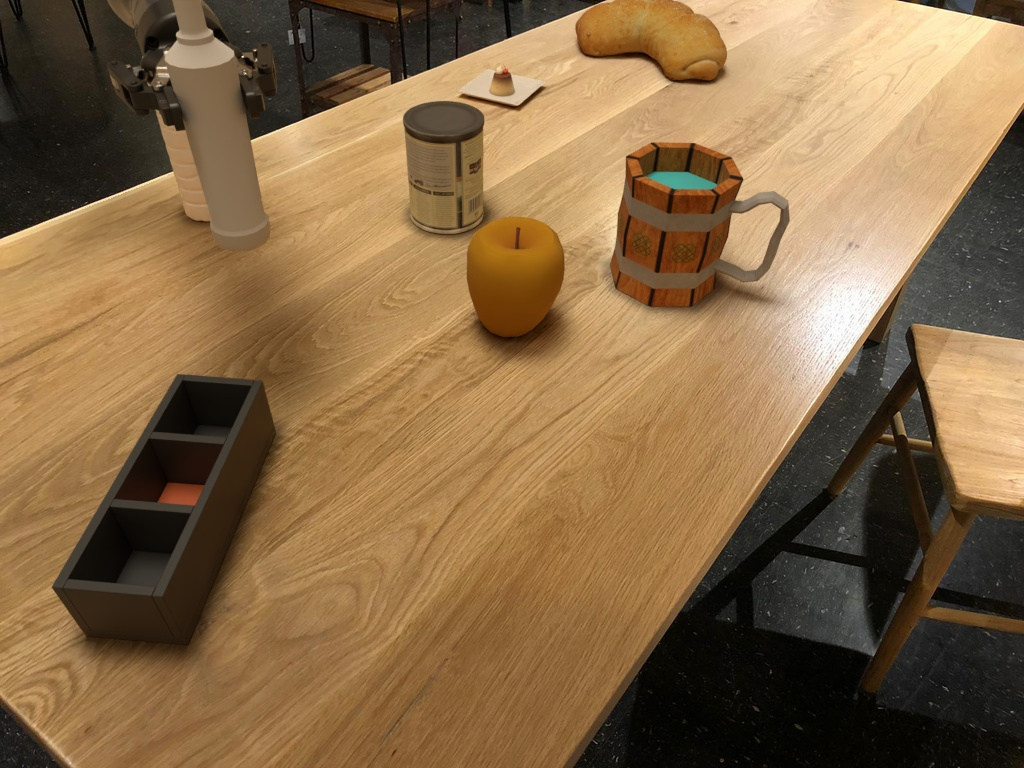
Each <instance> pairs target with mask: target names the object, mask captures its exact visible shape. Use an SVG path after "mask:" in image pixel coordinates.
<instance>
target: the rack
mask: <svg viewBox="0 0 1024 768" xmlns="http://www.w3.org/2000/svg"><path fill="white" fill-rule="evenodd" d="M276 434H277V430H276V427H275V423H274V418H273V415H272V411H271V408H270V403H269V400H268V396H267V392H266V388H265V384H264V381H263V380H262V379H261V380H260V379H250V378H236V377H222V376H210V375H198V374H184V373H183V374H182V373H177V374H176V376H175V377H174V379H173V381H172V382H171V384H170V385H169V387H168V389H167V390H166V391H165V394H164V395H163V397H162V399H161V400H160V403H159V404H158V406H157V408H156V409H155V411H154V412H153V414H152V416H151V418H150V419H149V421H148V423H147V424H146V426H145V428H144V429H143V431H142V432H141V434H140V436H139V438H138V440H137V441H136V443H135V444H134V447H133V448H132V450H131V451H130V453H129V455H128V457H127V458H126V460H125V462H124V464H123V465H122V467H121V469H120V470H119V472H118V473H117V475H116V478H114V480H113V482H112V484H111V485H110V488H109V489H108V490H107V492H106V494H105V495H104V497H103V499H102V500H101V502H100V504H99V506H98V508H97V509H96V511H95V513H94V514H93V515H92V518H90V521H89V523H88V524H87V526H86V527H85V529H84V531H83V533H82V535H81V536H80V538H79V540H78V541H77V543H76V545H75V546H74V548H73V550H72V552H71V553H70V555H69V557H68V558H67V560H66V562H65V564H64V565H63V567H62V569H61V571H60V572H59V574H58V575H57V576H56V579H55V580H54V582H53V584H52V586H51V589H52V590H53V591H54V593H55V594H56V596H57V597H58V599H59V601H60V602H61V603H62V605H64V607H65V609H66V611H67V612H68V613H69V614H70V616H71V617H72V618H73V620H74V622H75V623H76V625H77V626H78V627H79V629H80V630H81V632H82V633H83V635H84V636H86V637H91V638H92V637H93V638H104V639H116V640H127V641H137V642H138V641H139V642H149V643H159V644H160V643H161V644H172V645H180V646H181V645H182V646H188V645H189V643H190V641H191V638H192V635H193V633H194V631H195V628H196V626H197V624H198V621H199V619H200V616H201V614H202V611H203V609H204V607H205V604H206V602H207V599H208V598H209V594H210V592H211V590H212V587H213V585H214V583H215V580H216V578H217V575H218V573H219V571H220V568H221V566H222V563H223V561H224V559H225V556H226V554H227V552H228V549H229V546H230V544H231V542H232V539H233V536H234V535H235V532H236V530H237V527H238V525H239V522H240V520H241V518H242V515H243V513H244V511H245V508H246V506H247V503H248V500H249V498H250V496H251V494H252V491H253V489H254V486H255V484H256V481H257V479H258V476H259V475H260V472H261V469H262V467H263V465H264V463H265V460H266V457H267V455H268V453H269V450H270V448H271V445H272V444H273V441H274V438H275V436H276Z"/></svg>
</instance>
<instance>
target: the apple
mask: <svg viewBox="0 0 1024 768" xmlns="http://www.w3.org/2000/svg"><path fill="white" fill-rule="evenodd" d="M565 265H566V264H565V251H564V248H563V245H562V243H561V240H560V237H559V235H558V233H557V232H556V231H555V230H554V229H552V228H551V226H550V225H548V224H547V223H545V222H543V221H541V220H538V219H536V218H532V217H526V216H506V217H502V218H499V219H496V220H492V221H490V222H488V223H487V224H485V225H484V226H482V227H481V228H479V229H477V230H476V231H475V232H474V234H473V236H472V237H471V239H470V242H469V244H468V246H467V251H466V283H467V288H468V293H469V297H470V299H471V303H472V305H473V308H474V310H475V312H476V315H477V317H478V319H479V321H480V323H481V324H482V325H483V326H484V327H485V328H486V330H488V332H489V333H491V334H493V335H497V336H499V337H502V338H510V337H511V338H513V337H521V336H524V335H526V334H528V333H529V332H531V331H532V330H534V328H536V327H537V326H538V325H539V324H540V323H541V322H542V321H543V320H544V318H545V317H546V315H547V314H548V312H549V310H550V309H551V308H552V306H553V305H554V303H555V301H556V300H557V297H558V296H559V294H560V291H561V289H562V286H563V282H564V279H565V272H566V271H565V270H566V268H565Z"/></svg>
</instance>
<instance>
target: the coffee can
mask: <svg viewBox="0 0 1024 768" xmlns="http://www.w3.org/2000/svg"><path fill="white" fill-rule="evenodd" d="M402 124H403V128H404V141H405V153H406V167H407V181H408V182H407V183H408V193H409V194H408V195H409V206H410V207H409V208H410V213H409V217H410V220H411V221H412V223H413V224H414V225H415V226H416V227H418V229H421V230H423V231H425V232H429V233H433V234H439V235H455V234H456V235H457V234H460V233H461V234H462V233H465V232H468V231H471V230H472V229H474V228H476V227H477V226H479V225H480V224H481V222H482V221H483V219H484V215H485V213H484V156H485V155H484V126H485V115H484V113H483V112H482V111H481V110H480V109H479V108H477V107H475V106H473V105H471V104H468V103H465V102H459V101H453V100H435V101H428V102H423V103H420V104H416V105H413V106H412V107H410V108H409V109H408V110H406V111H405V112H404V114H403V116H402Z"/></svg>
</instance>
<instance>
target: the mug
mask: <svg viewBox="0 0 1024 768" xmlns="http://www.w3.org/2000/svg"><path fill="white" fill-rule="evenodd" d="M743 182H744V177H743V175H742V173H741V172H740V169H739V168H738V166H737V164H736V162H735V160H734V159H733V157H731V156H729V155H726V154H724V153H721V152H719V151H716V150H714V149H711V148H709V147H706V146H703V145H701V144H698V143H695V142H658V141H657V142H655V141H654V142H653V141H651V142H650V143H648V144H646V145H644V146H642V147H639V148H638V149H637V150H634V151H633V152H631V153H629V154H627V155H626V156H625V178H624V185H623V191H622V196H621V199H620V204H619V208H618V211H617V223H616V236H615V244H614V248H613V249H614V250H613V253H612V255H611V260H610V263H609V266H610V270H611V275H612V279H613V283H614V288H615V289H616V290H618V291H620V292H622V293H624V294H625V295H627V296H629V297H631V298H633V299H635V300H637V301H639V302H640V303H642V304H644V305H646V306H648V307H693V306H694V305H696V304H697V303H698V302H700V301H701V300H702V299H704V298H705V297H706V296H707V295H709V294H710V293H711V292H712V291H713V290H715V288H716V287H715V286H716V280H717V272H718V273H720V274H723V275H725V276H728V277H730V278H733V280H737V281H739V282H740V283H752V282H753V283H754V282H758V281H760V280H761V279H762V278H763V276H765V275H766V274H767V273H768V272H769V270H770V269H771V267H772V265H773V262H774V260H775V258H776V256H777V254H778V249H779V246H780V244H781V241H782V239H783V236H784V234H785V233H786V231H787V228H788V225H789V223H790V221H791V218H790V217H791V216H790V205H789V200H788V199H787V198H785V196H782V195H781V194H779V193H777V191H775V190H771V191H763V192H757V193H756V194H754V195H752V196H751V197H749V198H747V199H744V200H737V197H738V194H739V192H740V189H741V187H742V185H743ZM766 204H767V205H768V204H772V205H773V206H775V207H776V208H778V209H780V212H779V213H780V214H779V222H778V223H777V225H776V227H775V229H774V231H773V233H772V235H771V236H770V238H769V242H768V245H767V248H766V251H765V254H764V256H763V260H762V263H761V264H760V265H759V266H758V267H757V268H756V269H750V270H745V269H743V268H741V267H739V266H738V265H736V264H734V263H731V262H728V261H726V260H723V259H721V256H722V254H723V251H724V248H725V246H726V244H727V241H728V238H729V234H730V228H731V227H730V226H731V220H732V215H733V214H741V215H743V214H745V213H748V212H750V211H752V210H754V209H755V208H758V206H761V205H766Z"/></svg>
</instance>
